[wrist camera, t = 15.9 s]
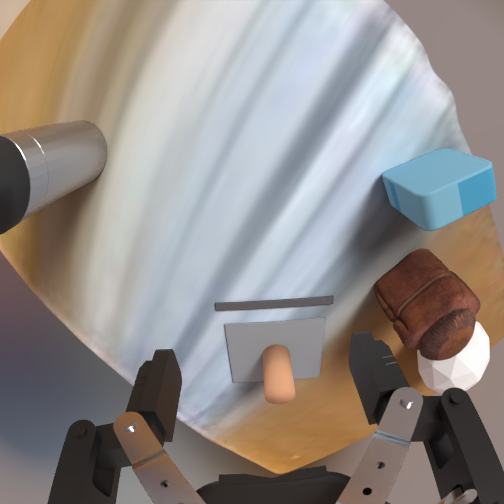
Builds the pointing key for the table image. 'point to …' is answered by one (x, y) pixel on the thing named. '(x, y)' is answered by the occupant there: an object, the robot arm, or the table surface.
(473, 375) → the geometric sphere
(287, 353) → the throwing cylinder
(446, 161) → the data package
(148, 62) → the table surface
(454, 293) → the wooden figurine
